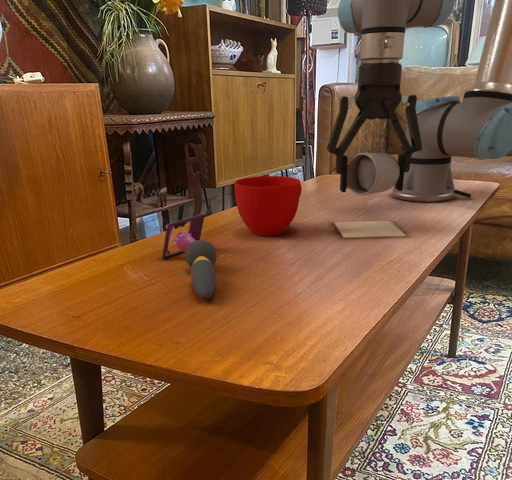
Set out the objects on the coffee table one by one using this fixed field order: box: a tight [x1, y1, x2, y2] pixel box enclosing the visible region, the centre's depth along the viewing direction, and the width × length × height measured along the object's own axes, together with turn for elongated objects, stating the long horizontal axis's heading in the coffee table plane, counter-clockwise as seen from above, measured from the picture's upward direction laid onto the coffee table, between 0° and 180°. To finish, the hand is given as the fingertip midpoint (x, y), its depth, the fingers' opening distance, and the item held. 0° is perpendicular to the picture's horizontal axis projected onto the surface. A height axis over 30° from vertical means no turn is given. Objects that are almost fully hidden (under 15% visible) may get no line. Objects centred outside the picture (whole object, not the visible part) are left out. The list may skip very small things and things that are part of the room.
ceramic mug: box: [346, 152, 400, 197], centre depth 101 cm, size 11×8×8 cm
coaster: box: [333, 220, 407, 239], centre depth 105 cm, size 12×12×1 cm
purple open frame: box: [161, 213, 206, 260], centre depth 91 cm, size 7×5×9 cm
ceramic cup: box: [233, 175, 303, 237], centre depth 105 cm, size 13×17×10 cm
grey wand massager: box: [184, 239, 218, 300], centre depth 79 cm, size 20×5×5 cm, turn 12°
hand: (370, 190), depth 102 cm, fingers closed on ceramic mug, 10 cm apart
